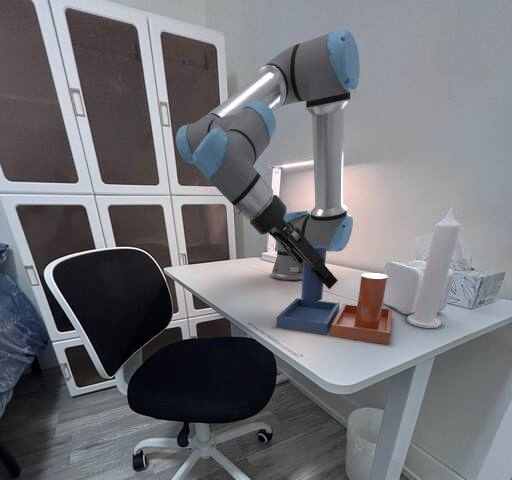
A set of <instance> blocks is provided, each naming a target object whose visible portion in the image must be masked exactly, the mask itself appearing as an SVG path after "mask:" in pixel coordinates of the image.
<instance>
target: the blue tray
mask: <svg viewBox="0 0 512 480" xmlns="http://www.w3.org/2000/svg"><path fill="white" fill-rule="evenodd" d="M339 311H340V302H333V301H323V300H319V301H306V300H303V299H302V298H300V297H299V298H298V297H296V298H295V299H294V300H293V301H292V302H291V303H289V305H288V306H287V307H286V308H285V309H283V310H282V311H281V312H280V313H279V315H277V316H276V328H279V329H285V330H290V331H291V330H293V331H297V332H304V333H310V334H311V333H312V334H317V335H323V336H324V335H325V336H327V334H328V333H329V331H330V330H331V326H332V323H333V322H334V320H335V318H336V316H337V314H338V313H339Z"/></svg>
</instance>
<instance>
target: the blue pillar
mask: <svg viewBox="0 0 512 480" xmlns="http://www.w3.org/2000/svg"><path fill="white" fill-rule="evenodd" d="M312 246H313V247H314V249H315V250H316V251H317V252H318V253H319V255H320V256H321V257H322V258H323V259H324V260H325V262H324V263H323V264H324V265H325V266H326V262H327V261H326V258H327V251H326V250H327V247H326V246H320V245H312ZM311 269H312V268H311V267H310V266H309V265H308V264H307V263H306V262H305V261H304V260H303V277H302V280H301V293H300V294H301V297H300V299H303V300H306V301H323V294H324V285H325V284H324V283H323V282H322V281H321V280H320V279H319V278H318V277H317V276H316V274H315V273H314V272H313V273H311V272H310V270H311Z"/></svg>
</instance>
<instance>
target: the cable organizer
mask: <svg viewBox="0 0 512 480" xmlns="http://www.w3.org/2000/svg"><path fill="white" fill-rule="evenodd" d="M426 262H427V261H426V260H425V261H424V260H421V259H416V260H415V259H414V260H411V261H410V262H408V264H404V263H401V262H397V261H394V260H393V261H387V262H386V263H384V265H383V269H382V270H383V271H382V274H383V275H386V276H388V278H387V283H386V289H385V294H384V300H383V304H384V305H385V306H388V307H390V308H394V309H396V310H397V312H399V313H401V314H402V315H405V316H407V315H409V314H414V313H415V309H416V305H417V300H418V296H419V292H420V288H421V283H422V279H423V275H424V271H425V266H426ZM454 278H455V271H454V270H453V269H452V268H451V267H449V271H448V275H447V278H446V282H445V286H444V289H443V293H442V297H441V300H440V304H439V308H438V312H439V311H443V310H445V309H446V307H447V304H448V299H449V296H450V293H451V289H452V286H453V282H454Z"/></svg>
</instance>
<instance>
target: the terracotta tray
mask: <svg viewBox="0 0 512 480" xmlns="http://www.w3.org/2000/svg"><path fill="white" fill-rule="evenodd" d="M356 310H357V304H353V303H352V304H351V303H342V305H341V307H340V308H339V313H338V314H337V316H336V318H335V320H334V322H333V323H332V325H331V327H330V336H332V337H337V338H341V339H342V338H343V339H351V340H356V341H363V342H369V343H376V344H381V345H382V344H383V345H387V346H388V345H389V342H390V337H391V329H392V320H393V319H392V318H393V308H387V307H382V311H381V316H380V322H379V327H378V330H375V329H368V328H361V327H354V324H355V317H356Z"/></svg>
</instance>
